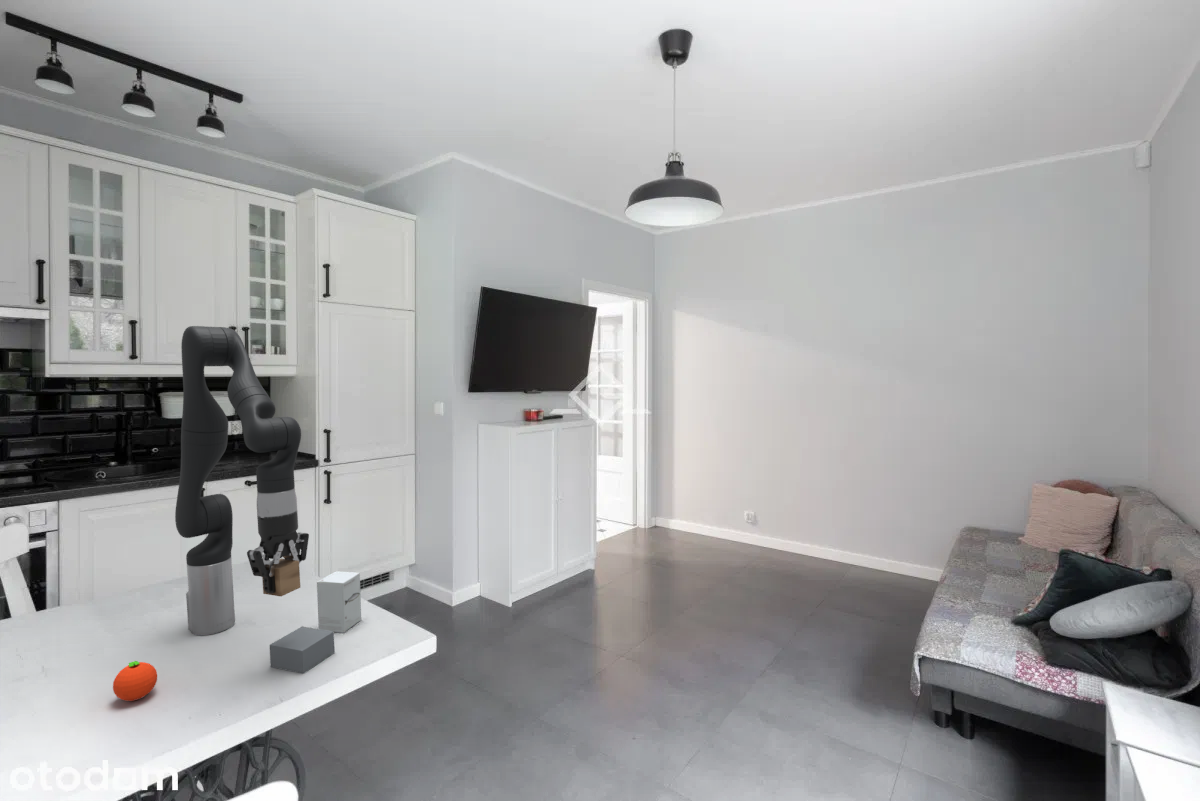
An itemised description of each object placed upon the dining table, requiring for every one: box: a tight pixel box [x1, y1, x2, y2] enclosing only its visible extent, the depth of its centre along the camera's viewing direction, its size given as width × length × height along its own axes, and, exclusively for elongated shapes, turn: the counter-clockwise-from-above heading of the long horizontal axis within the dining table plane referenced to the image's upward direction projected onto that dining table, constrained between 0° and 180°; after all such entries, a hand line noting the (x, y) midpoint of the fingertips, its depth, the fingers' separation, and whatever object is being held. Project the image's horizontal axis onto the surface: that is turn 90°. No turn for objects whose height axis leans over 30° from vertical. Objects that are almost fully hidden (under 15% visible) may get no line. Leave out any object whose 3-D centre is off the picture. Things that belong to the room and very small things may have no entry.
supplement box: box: [316, 570, 362, 634], centre depth 145 cm, size 7×7×13 cm
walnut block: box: [261, 558, 301, 597], centre depth 125 cm, size 5×5×6 cm
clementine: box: [112, 660, 158, 702], centre depth 115 cm, size 8×7×7 cm
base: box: [269, 625, 336, 674], centre depth 129 cm, size 9×9×5 cm
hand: (281, 587), depth 125 cm, fingers closed on walnut block, 5 cm apart
